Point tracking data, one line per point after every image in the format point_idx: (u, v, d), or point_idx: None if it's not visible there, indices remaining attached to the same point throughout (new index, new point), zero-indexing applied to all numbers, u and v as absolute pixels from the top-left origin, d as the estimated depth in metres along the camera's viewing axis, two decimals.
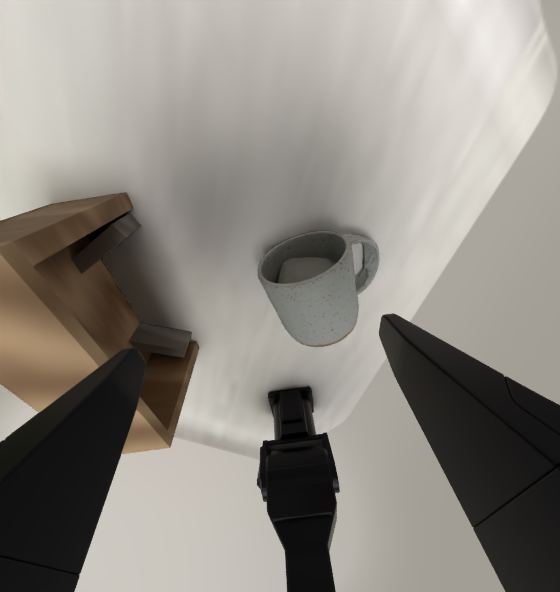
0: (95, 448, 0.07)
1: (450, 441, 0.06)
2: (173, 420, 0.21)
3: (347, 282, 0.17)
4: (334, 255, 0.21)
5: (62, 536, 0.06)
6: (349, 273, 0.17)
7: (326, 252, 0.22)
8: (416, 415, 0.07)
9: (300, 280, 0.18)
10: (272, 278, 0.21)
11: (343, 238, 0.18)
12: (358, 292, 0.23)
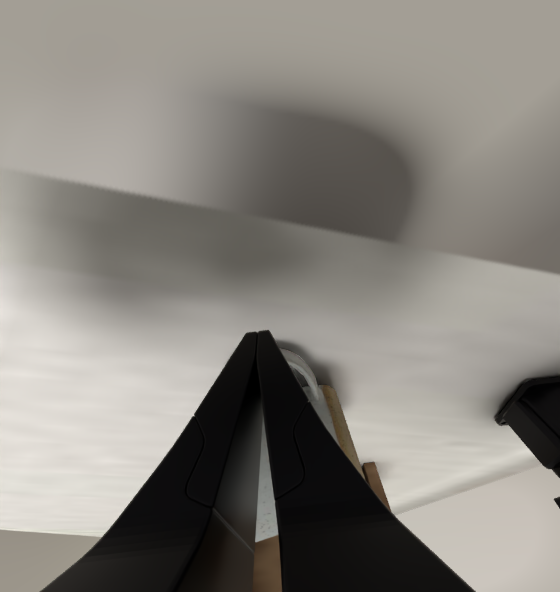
0: None
1: None
2: None
3: None
4: None
5: (248, 513, 0.05)
6: None
7: None
8: None
9: None
10: None
11: None
12: (313, 390, 0.14)
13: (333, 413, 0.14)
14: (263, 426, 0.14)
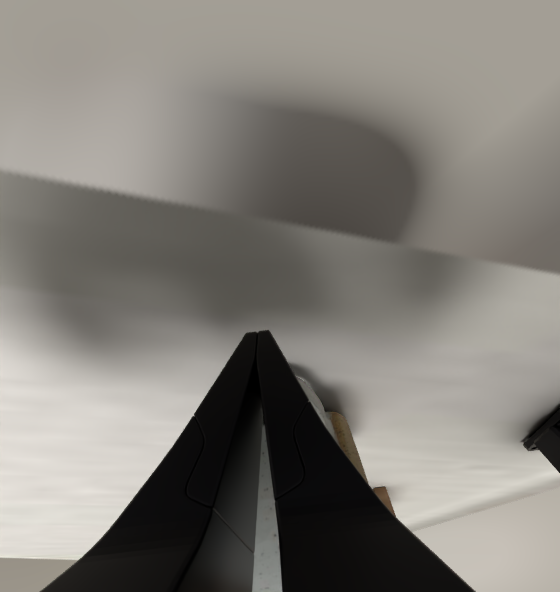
0: None
1: None
2: None
3: None
4: None
5: (248, 513, 0.05)
6: None
7: None
8: None
9: None
10: None
11: None
12: None
13: (346, 454, 0.11)
14: (260, 470, 0.11)
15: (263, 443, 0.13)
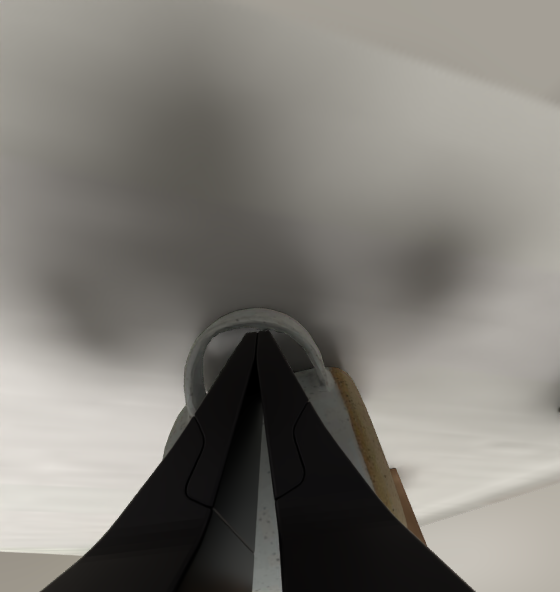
0: None
1: None
2: None
3: None
4: None
5: (248, 513, 0.05)
6: None
7: None
8: None
9: None
10: None
11: None
12: (318, 370, 0.09)
13: (349, 404, 0.09)
14: None
15: None
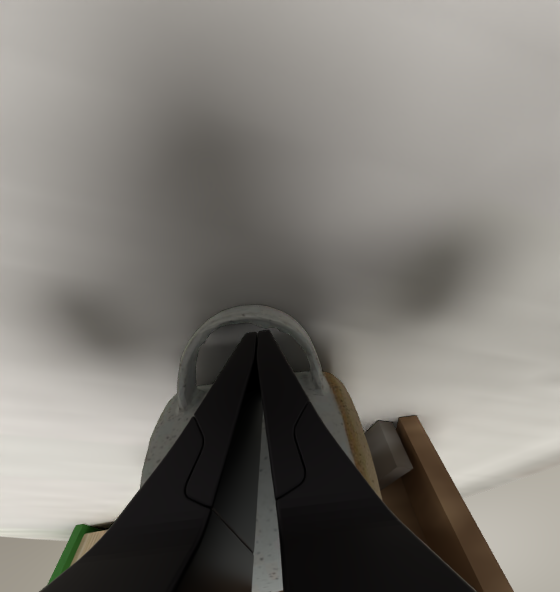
0: None
1: None
2: None
3: None
4: None
5: (247, 513, 0.05)
6: None
7: None
8: None
9: None
10: None
11: None
12: (316, 373, 0.09)
13: (344, 409, 0.09)
14: None
15: None
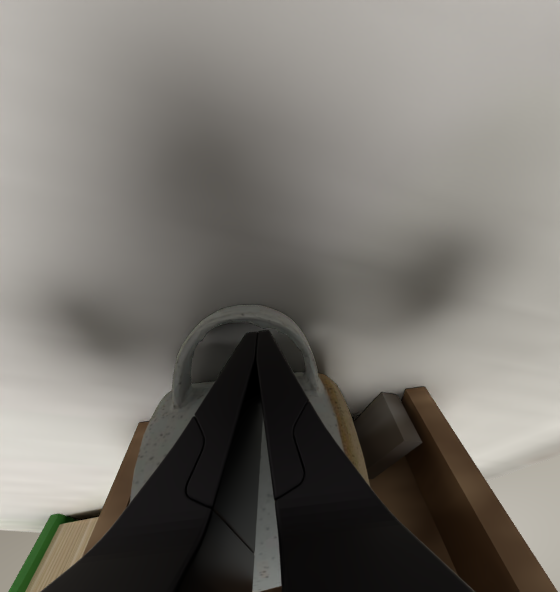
0: None
1: None
2: None
3: None
4: None
5: (248, 513, 0.05)
6: None
7: None
8: None
9: None
10: None
11: None
12: (312, 374, 0.10)
13: (338, 411, 0.09)
14: None
15: None
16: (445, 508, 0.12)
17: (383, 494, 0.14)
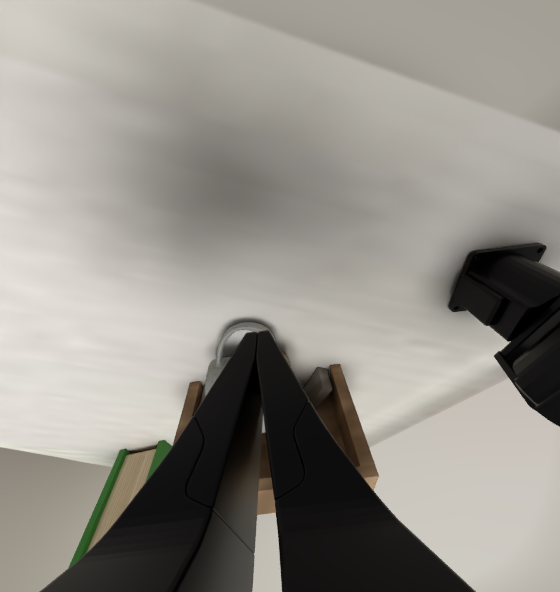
0: None
1: None
2: (360, 450, 0.21)
3: None
4: None
5: (248, 513, 0.05)
6: None
7: None
8: None
9: None
10: None
11: None
12: None
13: None
14: None
15: None
16: (340, 419, 0.26)
17: None
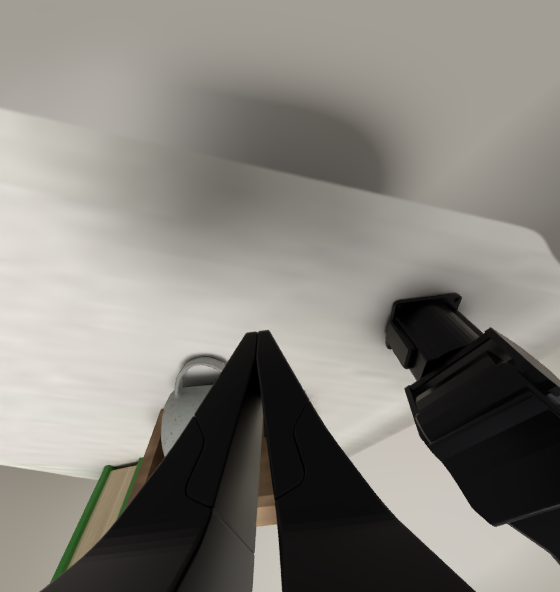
0: None
1: None
2: None
3: None
4: None
5: (248, 513, 0.05)
6: (176, 431, 0.23)
7: None
8: None
9: None
10: None
11: None
12: None
13: None
14: (194, 401, 0.25)
15: (198, 391, 0.26)
16: None
17: None
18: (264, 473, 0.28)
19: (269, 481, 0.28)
